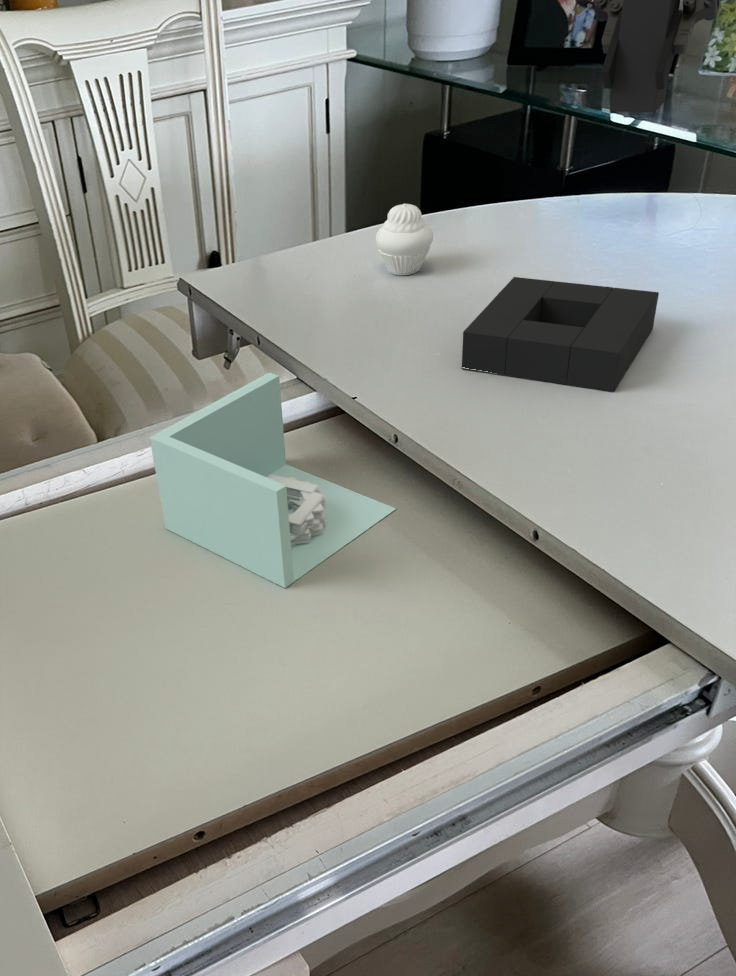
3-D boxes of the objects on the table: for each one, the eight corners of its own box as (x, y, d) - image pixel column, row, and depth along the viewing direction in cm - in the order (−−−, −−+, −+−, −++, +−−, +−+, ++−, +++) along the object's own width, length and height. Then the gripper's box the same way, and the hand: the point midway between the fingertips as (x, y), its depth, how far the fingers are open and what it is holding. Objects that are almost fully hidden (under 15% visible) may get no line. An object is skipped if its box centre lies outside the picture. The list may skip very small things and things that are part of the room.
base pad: (652, 329, 92) (659, 292, 89) (613, 392, 83) (620, 352, 81) (511, 312, 97) (513, 276, 95) (461, 369, 89) (463, 331, 87)
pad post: (664, 101, 107) (685, -30, 99) (654, 112, 104) (674, -23, 96) (621, 100, 109) (637, -29, 101) (609, 111, 106) (625, -21, 98)
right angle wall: (285, 588, 66) (276, 491, 62) (165, 528, 73) (149, 437, 69) (396, 508, 73) (396, 415, 68) (276, 460, 79) (268, 372, 75)
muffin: (364, 275, 108) (363, 208, 104) (396, 256, 112) (396, 191, 107) (412, 284, 105) (413, 215, 101) (443, 265, 109) (445, 198, 104)
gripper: (607, -161, 102) (541, 56, 102) (796, -178, 94) (725, 57, 94) (614, -103, 109) (552, 101, 109) (790, -115, 101) (724, 105, 101)
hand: (632, 80), depth 102 cm, fingers closed on pad post, 5 cm apart
